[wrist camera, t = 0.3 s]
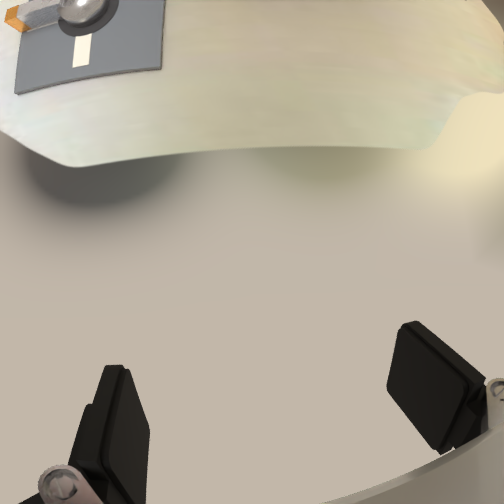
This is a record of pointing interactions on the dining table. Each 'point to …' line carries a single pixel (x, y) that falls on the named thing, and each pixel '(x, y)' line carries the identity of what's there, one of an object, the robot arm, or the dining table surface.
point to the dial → (56, 13)
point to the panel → (92, 46)
